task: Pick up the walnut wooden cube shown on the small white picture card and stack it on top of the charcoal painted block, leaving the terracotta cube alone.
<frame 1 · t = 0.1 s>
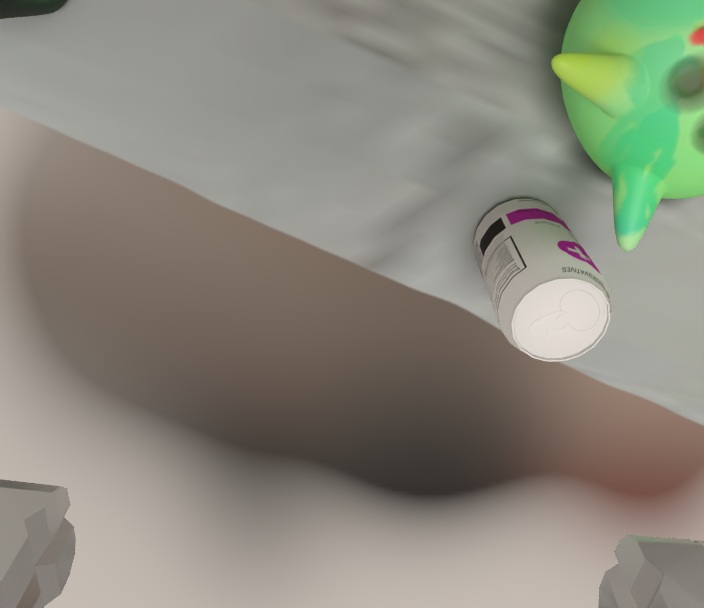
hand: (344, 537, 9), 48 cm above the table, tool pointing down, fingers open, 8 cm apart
toy bird: (635, 62, 51), on the table
supplement can: (516, 237, 59), on the table
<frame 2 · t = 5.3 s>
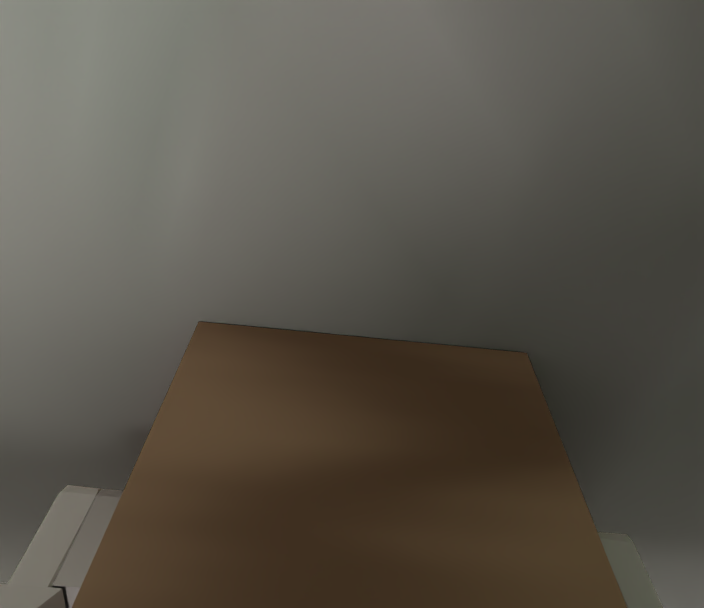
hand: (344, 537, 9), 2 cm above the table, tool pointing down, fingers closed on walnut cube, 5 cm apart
walnut cube: (348, 460, 11), on the table, touching gripper
when the fingers open (8 cm above the table, at t = 11.4 s): walnut cube drops 2 cm, resting on charcoal base block.
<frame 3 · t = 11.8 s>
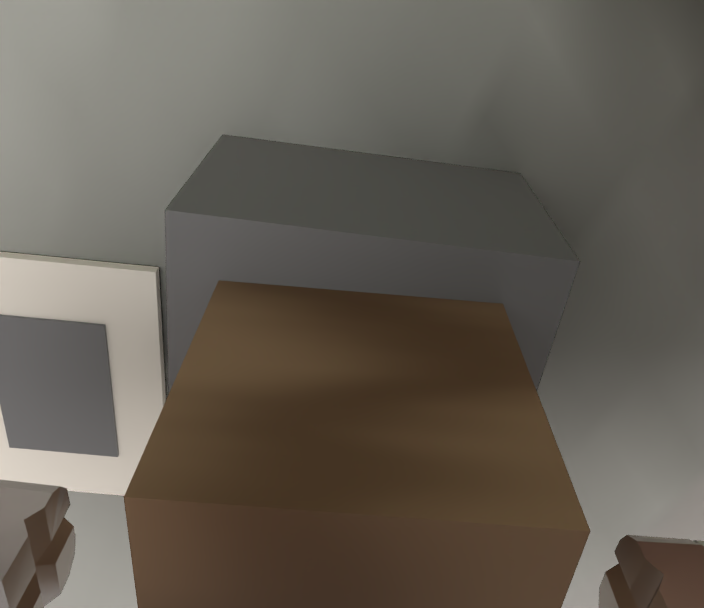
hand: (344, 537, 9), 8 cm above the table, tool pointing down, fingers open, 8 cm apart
charcoal base block: (353, 282, 17), on the table, touching walnut cube
walnut cube: (349, 404, 12), point 5 cm above the table, touching charcoal base block
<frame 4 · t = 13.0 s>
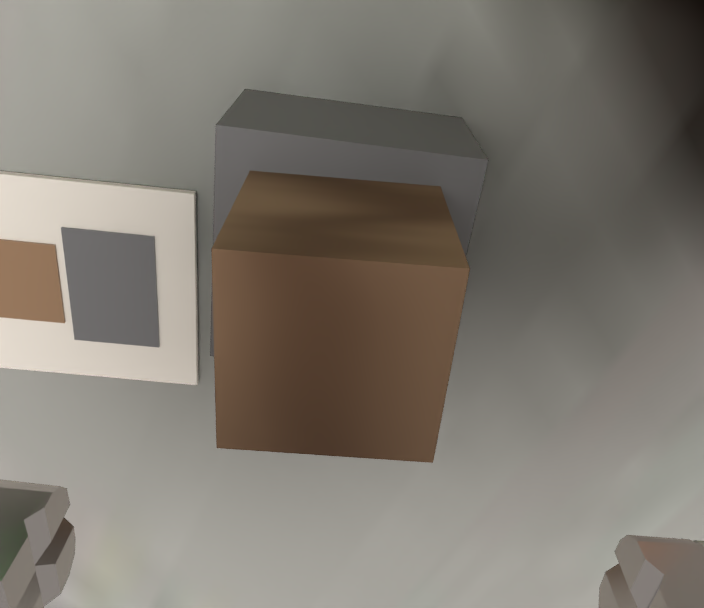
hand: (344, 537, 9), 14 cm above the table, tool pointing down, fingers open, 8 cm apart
charcoal base block: (341, 204, 22), on the table, touching walnut cube
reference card: (61, 280, 24), on the table
walnut cube: (338, 264, 18), point 5 cm above the table, touching charcoal base block
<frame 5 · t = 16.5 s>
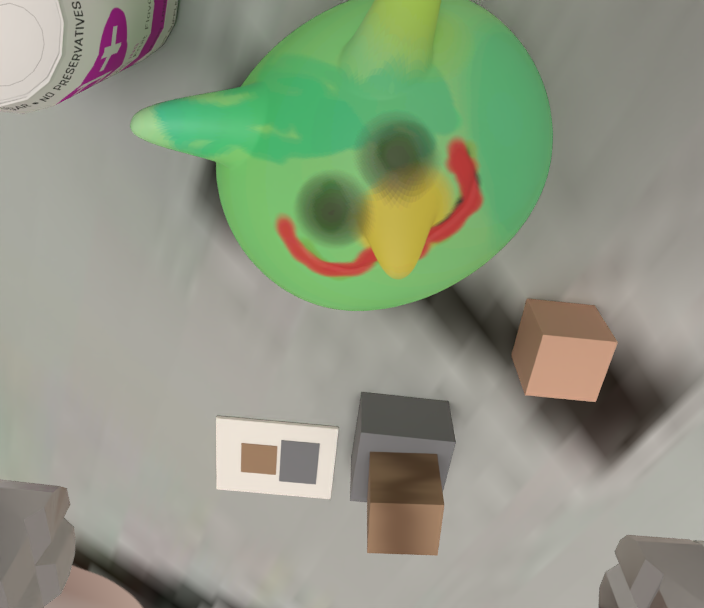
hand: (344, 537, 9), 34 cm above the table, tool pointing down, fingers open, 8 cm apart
charcoal base block: (398, 428, 53), on the table, touching walnut cube
toy bird: (374, 120, 40), on the table
terracotta cube: (551, 330, 48), on the table
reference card: (275, 457, 54), on the table
walnut cube: (401, 477, 49), point 5 cm above the table, touching charcoal base block
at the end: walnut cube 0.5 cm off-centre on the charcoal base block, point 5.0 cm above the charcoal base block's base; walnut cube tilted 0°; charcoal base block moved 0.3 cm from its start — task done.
